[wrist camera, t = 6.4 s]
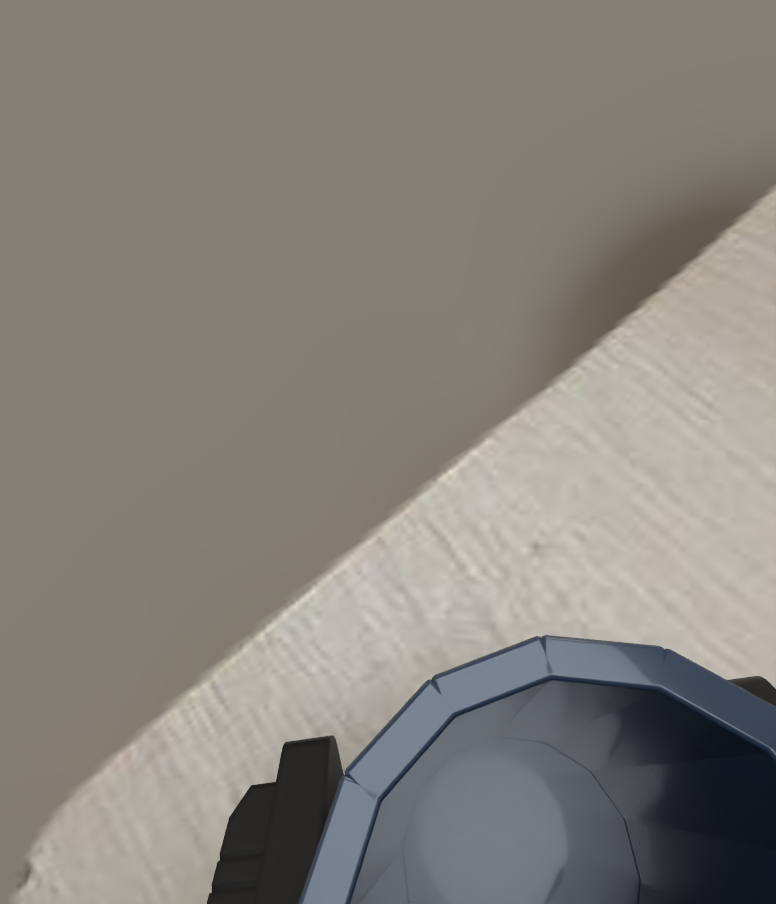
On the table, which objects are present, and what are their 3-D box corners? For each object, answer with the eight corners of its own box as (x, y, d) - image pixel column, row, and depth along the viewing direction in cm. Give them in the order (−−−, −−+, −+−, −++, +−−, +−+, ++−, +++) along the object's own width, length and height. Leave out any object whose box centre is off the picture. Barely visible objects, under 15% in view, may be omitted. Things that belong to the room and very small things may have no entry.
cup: (490, 1112, 11) (586, 1868, 3) (338, 810, 14) (190, 842, 6) (714, 917, 12) (1188, 1153, 4) (535, 669, 15) (634, 537, 7)
